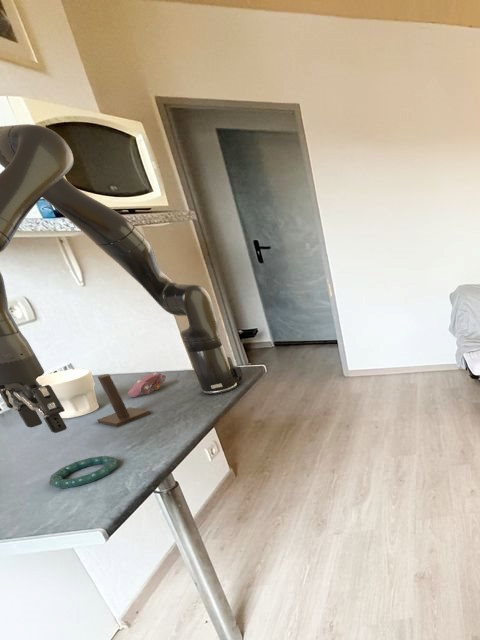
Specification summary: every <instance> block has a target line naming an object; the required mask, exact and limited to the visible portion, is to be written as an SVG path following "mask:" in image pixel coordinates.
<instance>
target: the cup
mask: <svg viewBox="0 0 480 640" xmlns="http://www.w3.org/2000/svg"><path fill="white" fill-rule="evenodd" d="M36 381H37V382H38V383H39V384H40V385H42V386H45V385H50V386H51V387H52V389H53V391H54V393H55V395H56V396H57V398H58V400H59V401H60V403H61V405H62V406H63V408H64V410H65V411H63V412H61V413H59V414H60V416H61V418H62V419H72V418H79V417H82V416H85V415H88V414H90V413H93V412H95V411H97V410H98V409H99V408H100V405H99V404H98V400H97V395H96V392H95V386H96V384H95V380H94V377H93V374H92V371H91V370H90V369H88V368H73V369H66V370H61V371H56V372H52V373H47V374H43V375H42V376H40V377H38V378H37V379H36ZM53 404H54V403H53ZM54 405H55V404H54Z"/></svg>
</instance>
